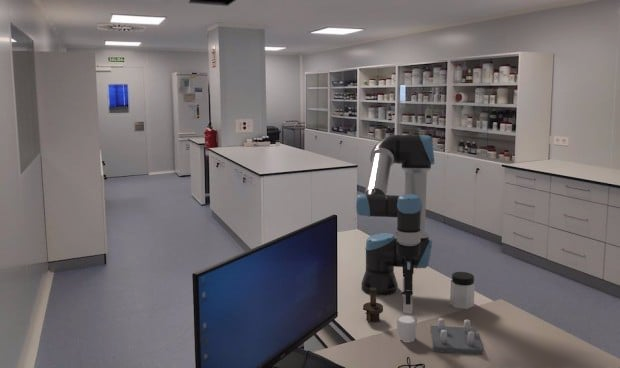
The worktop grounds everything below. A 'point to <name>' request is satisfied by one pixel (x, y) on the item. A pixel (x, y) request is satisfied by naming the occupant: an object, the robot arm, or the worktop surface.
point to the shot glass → (406, 327)
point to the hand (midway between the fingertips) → (406, 304)
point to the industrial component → (373, 307)
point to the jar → (462, 290)
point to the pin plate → (455, 338)
